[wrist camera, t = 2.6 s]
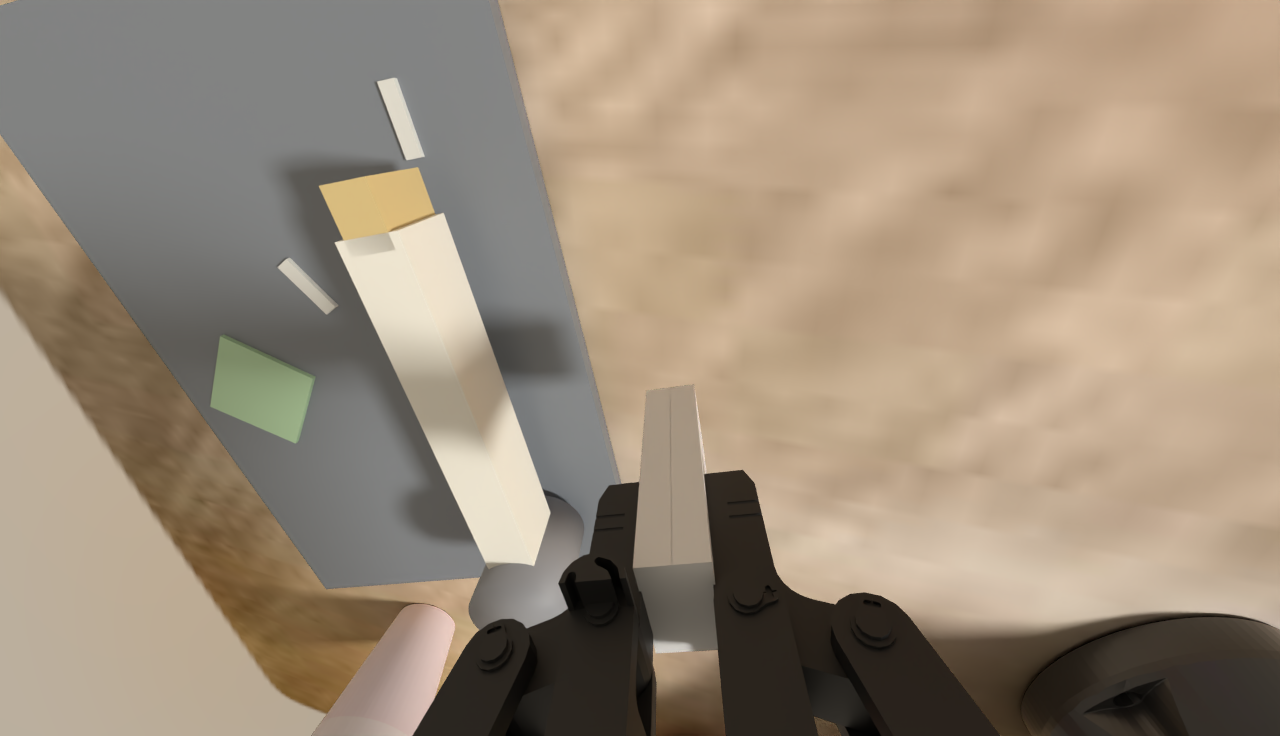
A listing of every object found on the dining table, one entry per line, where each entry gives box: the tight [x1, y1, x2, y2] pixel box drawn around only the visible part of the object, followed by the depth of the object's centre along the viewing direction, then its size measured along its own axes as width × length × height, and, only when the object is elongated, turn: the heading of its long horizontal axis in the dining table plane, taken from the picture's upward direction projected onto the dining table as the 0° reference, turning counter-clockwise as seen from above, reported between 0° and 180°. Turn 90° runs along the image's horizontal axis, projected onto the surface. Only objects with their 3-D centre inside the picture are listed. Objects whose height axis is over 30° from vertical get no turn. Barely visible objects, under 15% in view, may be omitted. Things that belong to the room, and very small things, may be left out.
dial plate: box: [0, 0, 621, 589], centre depth 21 cm, size 28×19×1 cm
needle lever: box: [319, 167, 584, 630], centre depth 18 cm, size 19×4×5 cm, turn 10°
